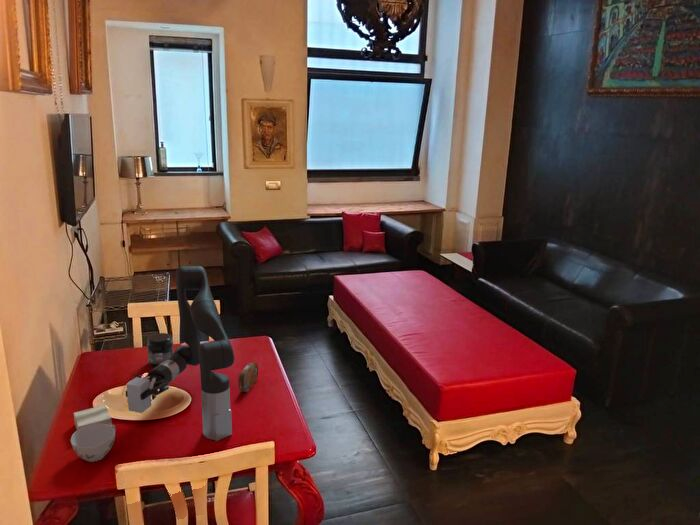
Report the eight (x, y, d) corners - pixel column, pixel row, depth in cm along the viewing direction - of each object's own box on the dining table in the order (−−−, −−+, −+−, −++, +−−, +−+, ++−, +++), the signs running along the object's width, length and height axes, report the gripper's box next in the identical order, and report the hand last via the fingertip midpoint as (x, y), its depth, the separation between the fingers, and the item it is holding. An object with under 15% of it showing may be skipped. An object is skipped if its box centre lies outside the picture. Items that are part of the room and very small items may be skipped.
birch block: (112, 431, 182) (111, 418, 181) (80, 440, 177) (78, 426, 175) (106, 417, 190) (105, 404, 189) (75, 425, 185) (73, 412, 183)
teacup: (93, 473, 161) (91, 450, 158) (63, 462, 165) (60, 439, 163) (131, 446, 174) (129, 424, 172) (102, 436, 179) (100, 415, 176)
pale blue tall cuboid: (151, 405, 186) (149, 379, 184) (141, 413, 181) (139, 386, 179) (138, 403, 188) (136, 377, 185) (128, 410, 183) (126, 384, 180)
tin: (244, 396, 207) (244, 376, 205) (237, 394, 208) (236, 375, 205) (258, 378, 221) (258, 359, 219) (251, 377, 222) (251, 358, 220)
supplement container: (165, 355, 238) (164, 330, 235) (178, 363, 232) (177, 337, 228) (143, 363, 230) (141, 337, 227) (156, 371, 224) (154, 344, 221)
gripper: (146, 361, 197) (114, 382, 181) (180, 367, 193) (151, 389, 178) (147, 380, 199) (116, 402, 183) (181, 386, 195) (153, 409, 180)
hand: (134, 395), depth 180 cm, fingers closed on pale blue tall cuboid, 5 cm apart
